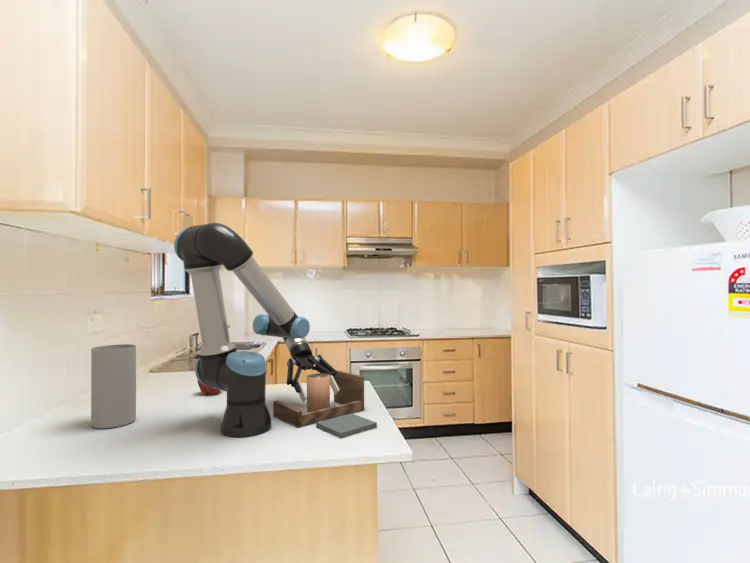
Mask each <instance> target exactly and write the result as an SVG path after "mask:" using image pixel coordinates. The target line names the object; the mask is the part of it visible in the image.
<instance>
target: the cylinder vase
mask: <svg viewBox="0 0 750 563" xmlns="http://www.w3.org/2000/svg"><path fill="white" fill-rule="evenodd" d="M90 351H91V352H90V353H91V354H90V359H91V360H90V361H91V362H90V365H91V366H90V367H91V368H90V369H91V370H90V372H91V373H90V377H91V378H90V386H91V387H90V426H91V427H92V428H94V429H98V428H99V429H101V430H102V429H103V430H107V428H108V429H113V428H114V429H115V427H116V428H119V427H124V426H127V425H130V424H132V423H134V422H135V421H136V419H137V344H131V343H130V344H129V343H128V344H127V343H126V344H125V343H124V344H123V343H122V344H109V345H98V346H95V347H91V348H90ZM129 423H130V424H129ZM105 428H106V429H105ZM99 429H98V430H99Z"/></svg>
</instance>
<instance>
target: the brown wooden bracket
mask: <svg viewBox="0 0 750 563" xmlns="http://www.w3.org/2000/svg"><path fill="white" fill-rule="evenodd" d="M335 370H336V371H337V373H336V375H335V376H334V377H335V379H336V381H337V386H338V388H339V392H338V393H337V394H336V395H335V394H334V393H333V403H337V405H335V406H330V407H329V408H325V409H321V410H317V411H312V412H308V413H307V412H305V413H303V410H301V409H298V408H296V407H294V406H291V405H289V404H287V403H284V402H282V401H279V400H273V401H272V404H273V405H272V409H273V410H272V413H273V414H272V416H273V417H274V418H277V419H279V420H281V421H283V422H286V423H287V424H290V425H292V426H293V427H296V428H298V429H299V428H302V427H306V426H309V425H313V424H316V422H320V421H324V420H328V419H332V418H336V417H339V416H343V415H347V414H351V413H352V414H356V413H361V412H364V411H365V377H364V376H362V375H359V374H356V373H350V372H347V371H342V370H337V369H335ZM338 403H339V404H338ZM341 404H342V405H341Z"/></svg>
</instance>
